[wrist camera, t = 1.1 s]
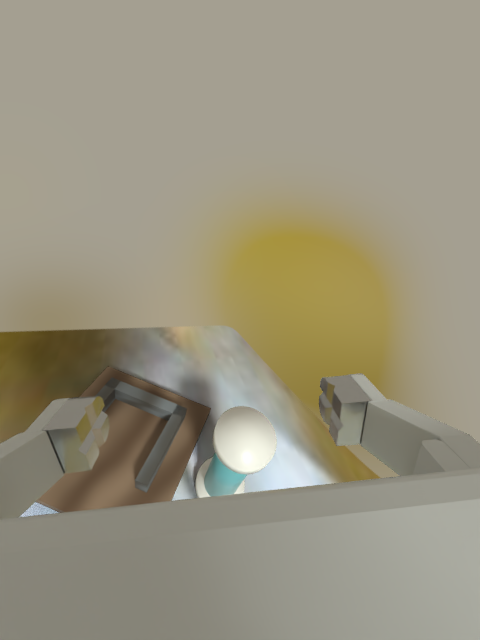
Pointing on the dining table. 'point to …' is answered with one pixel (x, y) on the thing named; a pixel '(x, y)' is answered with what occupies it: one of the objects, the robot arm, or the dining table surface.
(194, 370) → the dining table surface
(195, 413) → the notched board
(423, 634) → the robot arm
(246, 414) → the bobbin
